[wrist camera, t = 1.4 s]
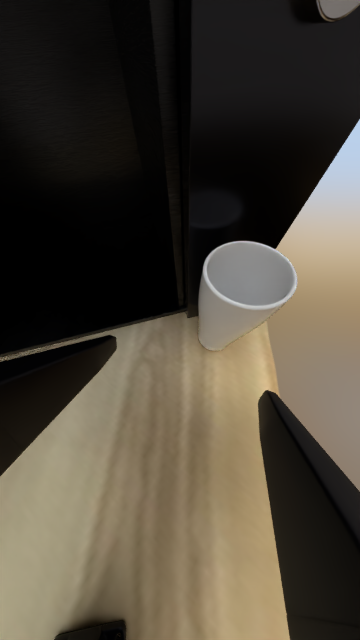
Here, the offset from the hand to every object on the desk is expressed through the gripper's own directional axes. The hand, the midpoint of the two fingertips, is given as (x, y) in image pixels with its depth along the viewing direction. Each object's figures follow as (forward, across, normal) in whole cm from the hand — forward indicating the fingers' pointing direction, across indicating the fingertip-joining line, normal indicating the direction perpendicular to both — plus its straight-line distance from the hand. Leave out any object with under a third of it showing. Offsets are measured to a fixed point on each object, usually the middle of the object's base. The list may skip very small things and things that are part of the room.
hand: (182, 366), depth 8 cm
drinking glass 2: (+15, -2, +6) cm, 17 cm away
